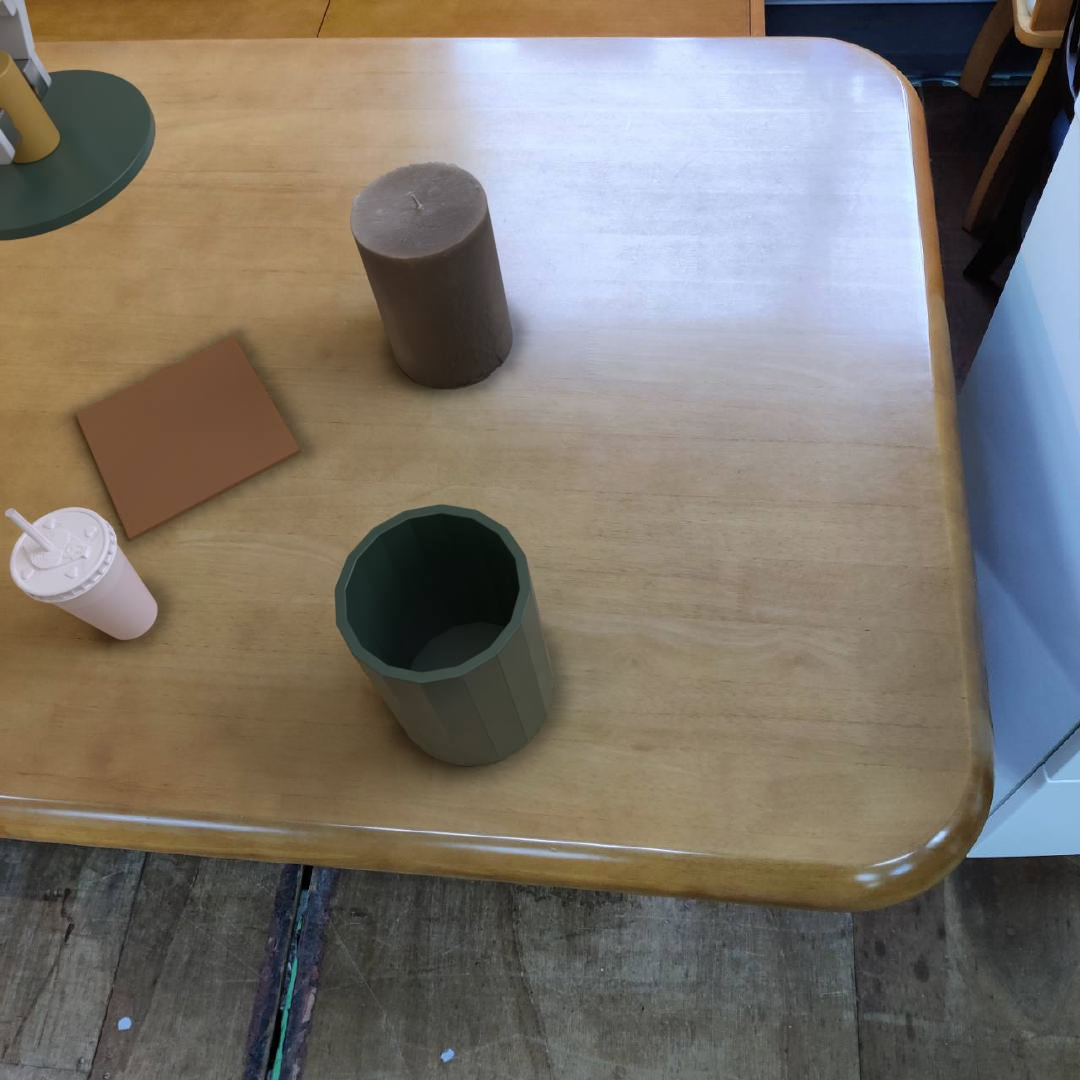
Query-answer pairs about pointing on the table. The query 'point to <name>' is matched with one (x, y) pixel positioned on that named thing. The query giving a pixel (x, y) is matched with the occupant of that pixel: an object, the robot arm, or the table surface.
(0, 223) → the tin lid
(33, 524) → the smoothie
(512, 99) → the table surface
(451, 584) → the tin
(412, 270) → the pillar candle
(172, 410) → the cork mat
